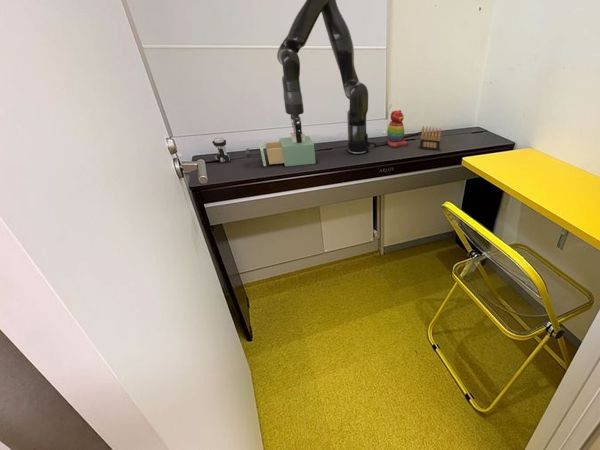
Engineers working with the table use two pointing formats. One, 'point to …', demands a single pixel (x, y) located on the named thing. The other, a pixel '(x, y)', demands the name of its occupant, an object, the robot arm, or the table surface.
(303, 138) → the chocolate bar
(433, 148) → the ammunition clip
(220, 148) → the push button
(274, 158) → the drawer
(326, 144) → the table surface
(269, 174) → the table surface
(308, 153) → the cabinet
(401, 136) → the stacking bear
